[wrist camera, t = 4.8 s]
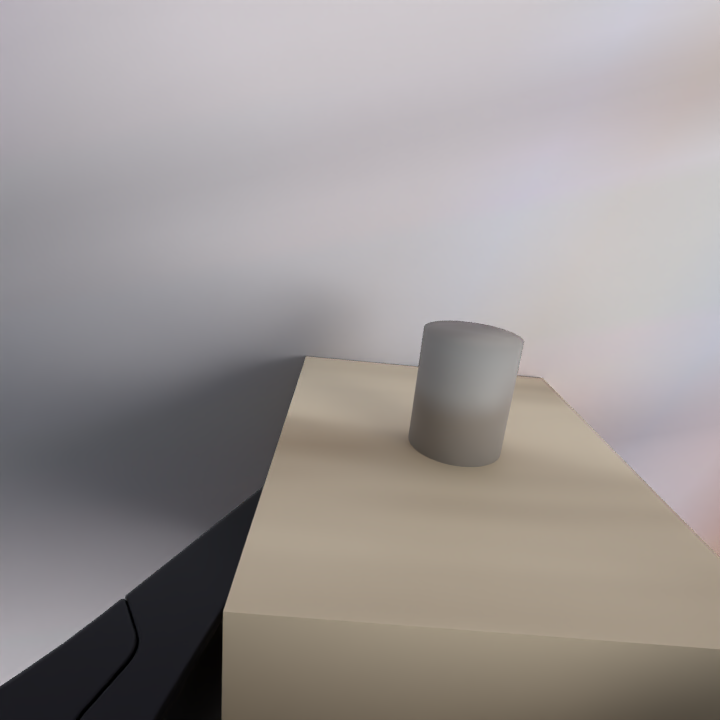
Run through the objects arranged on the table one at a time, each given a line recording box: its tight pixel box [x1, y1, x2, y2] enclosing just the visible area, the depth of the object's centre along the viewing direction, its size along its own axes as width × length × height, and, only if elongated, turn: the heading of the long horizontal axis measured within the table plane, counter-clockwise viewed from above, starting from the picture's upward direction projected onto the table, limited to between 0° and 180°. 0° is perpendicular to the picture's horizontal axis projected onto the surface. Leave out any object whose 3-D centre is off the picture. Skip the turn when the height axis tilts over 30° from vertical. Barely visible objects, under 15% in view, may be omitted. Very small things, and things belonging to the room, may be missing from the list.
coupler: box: [222, 321, 720, 720], centre depth 7 cm, size 8×4×6 cm, turn 174°
